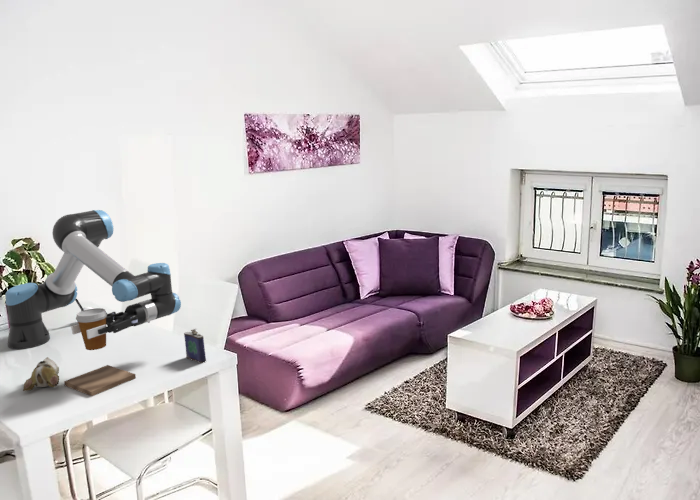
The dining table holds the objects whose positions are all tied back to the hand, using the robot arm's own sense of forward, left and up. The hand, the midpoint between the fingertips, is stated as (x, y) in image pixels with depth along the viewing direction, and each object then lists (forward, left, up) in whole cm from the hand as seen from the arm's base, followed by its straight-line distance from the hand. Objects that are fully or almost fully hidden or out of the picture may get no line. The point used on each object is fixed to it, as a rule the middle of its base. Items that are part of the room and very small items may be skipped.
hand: (79, 332), depth 192 cm
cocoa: (-66, +41, -19) cm, 80 cm away
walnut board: (0, +5, -19) cm, 19 cm away
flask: (+13, +35, -19) cm, 42 cm away
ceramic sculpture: (-15, -6, -19) cm, 25 cm away
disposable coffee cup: (0, +5, -7) cm, 8 cm away
